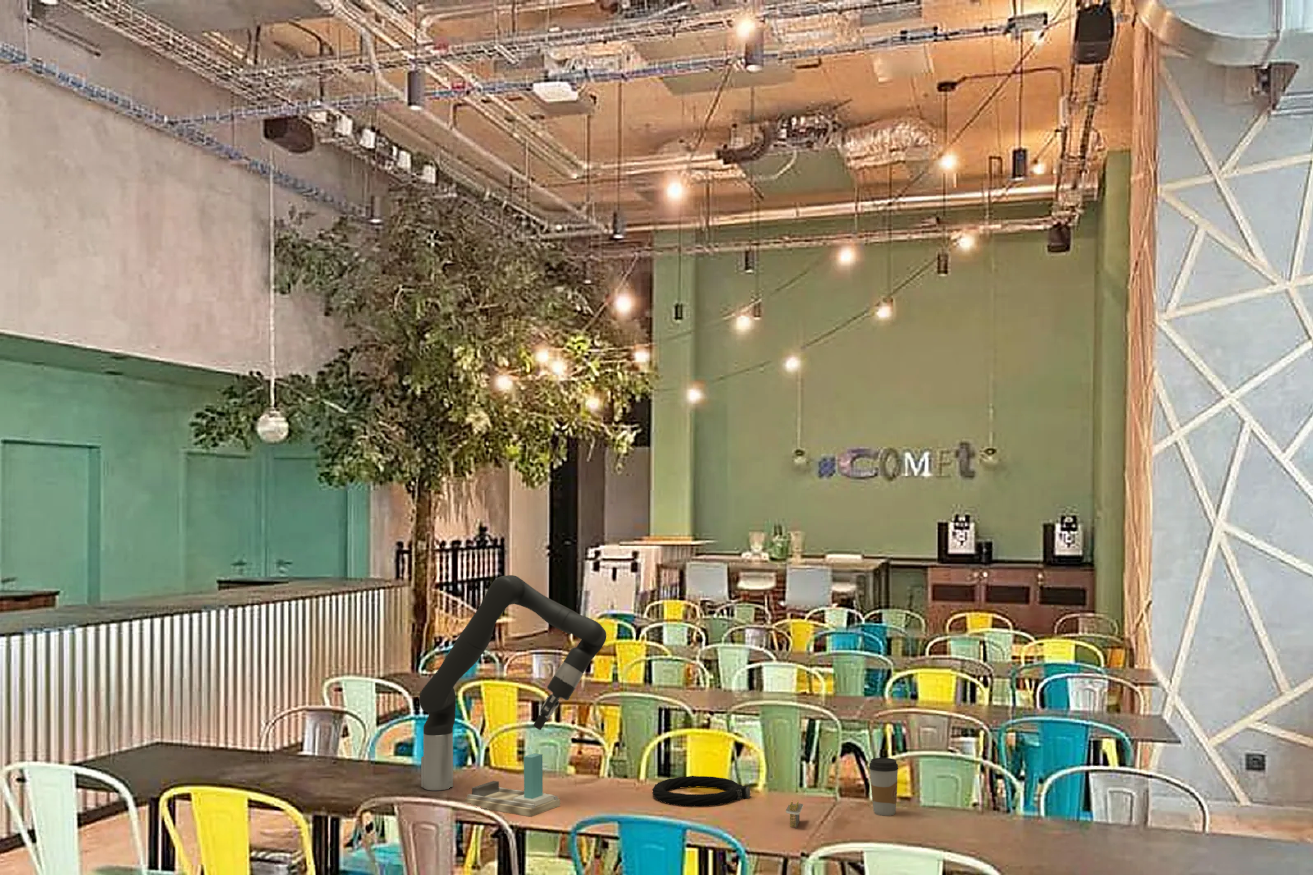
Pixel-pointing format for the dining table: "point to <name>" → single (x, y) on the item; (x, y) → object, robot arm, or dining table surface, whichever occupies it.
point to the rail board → (506, 800)
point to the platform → (796, 813)
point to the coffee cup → (884, 785)
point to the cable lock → (719, 798)
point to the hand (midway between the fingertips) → (536, 728)
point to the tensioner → (533, 782)
